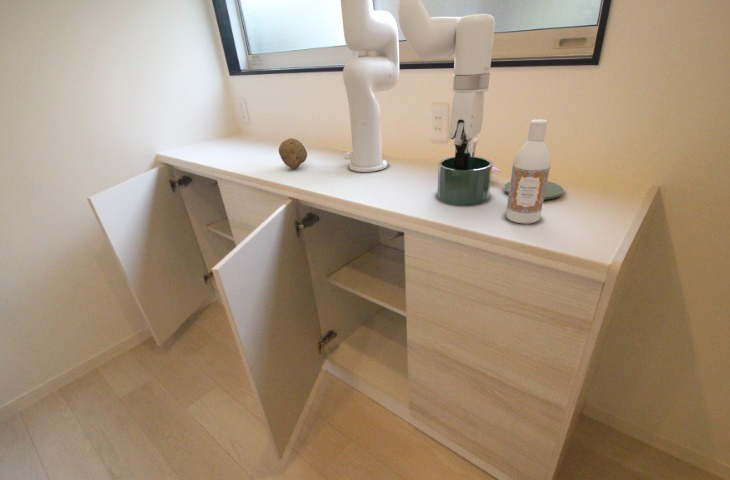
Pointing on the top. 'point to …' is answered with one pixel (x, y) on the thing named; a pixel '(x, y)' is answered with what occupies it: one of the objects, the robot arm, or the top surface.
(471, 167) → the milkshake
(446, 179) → the pot
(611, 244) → the top surface
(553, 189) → the pot lid
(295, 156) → the brown potato
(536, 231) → the top surface
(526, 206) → the bath foam
